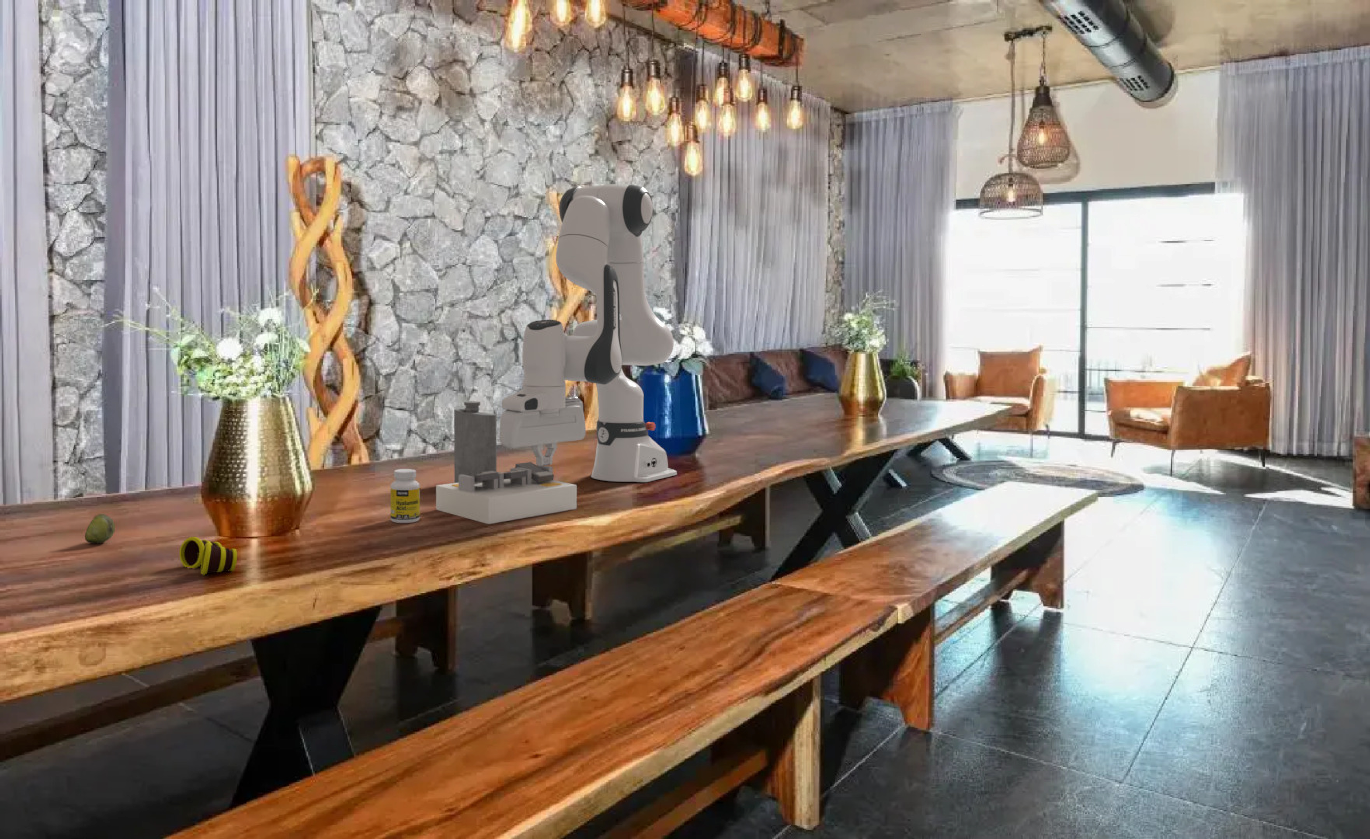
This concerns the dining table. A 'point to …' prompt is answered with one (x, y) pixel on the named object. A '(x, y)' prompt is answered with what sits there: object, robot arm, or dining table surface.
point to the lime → (100, 529)
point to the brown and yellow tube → (207, 556)
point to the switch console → (505, 497)
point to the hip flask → (474, 441)
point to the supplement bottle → (405, 497)
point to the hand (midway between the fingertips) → (544, 465)
